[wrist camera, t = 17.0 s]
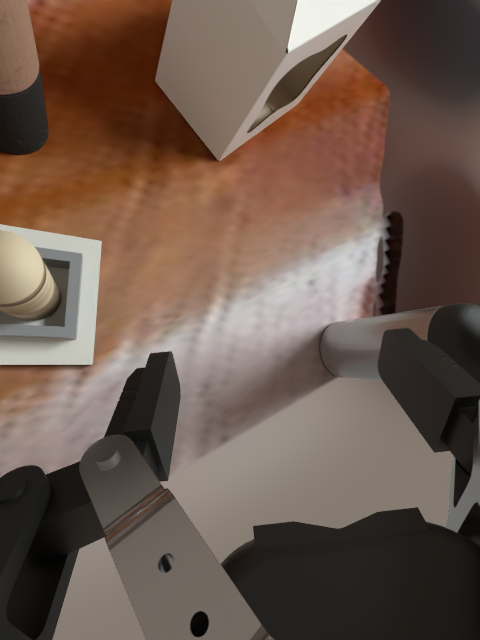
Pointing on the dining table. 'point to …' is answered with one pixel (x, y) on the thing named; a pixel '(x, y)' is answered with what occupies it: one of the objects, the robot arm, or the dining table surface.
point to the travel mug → (20, 83)
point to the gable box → (249, 60)
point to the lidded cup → (25, 280)
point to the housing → (73, 312)
